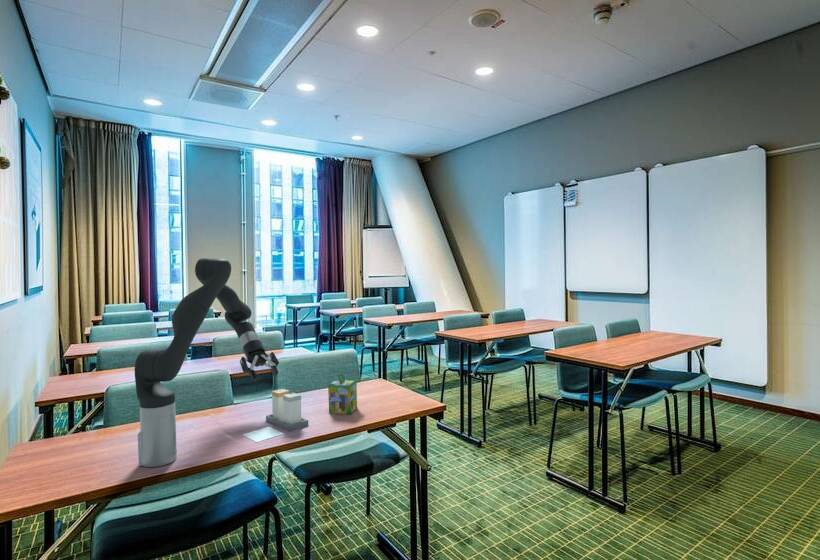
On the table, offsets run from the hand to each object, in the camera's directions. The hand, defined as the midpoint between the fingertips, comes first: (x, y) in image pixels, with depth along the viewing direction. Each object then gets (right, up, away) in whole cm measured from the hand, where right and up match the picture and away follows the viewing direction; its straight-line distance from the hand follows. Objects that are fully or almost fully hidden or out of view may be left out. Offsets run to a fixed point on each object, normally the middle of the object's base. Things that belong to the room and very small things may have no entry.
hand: (266, 377), depth 172 cm
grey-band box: (+14, -15, -13) cm, 23 cm away
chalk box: (+30, -15, +4) cm, 33 cm away
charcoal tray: (+11, -15, -10) cm, 21 cm away
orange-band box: (+8, -14, -7) cm, 18 cm away
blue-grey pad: (+6, -15, -21) cm, 26 cm away
